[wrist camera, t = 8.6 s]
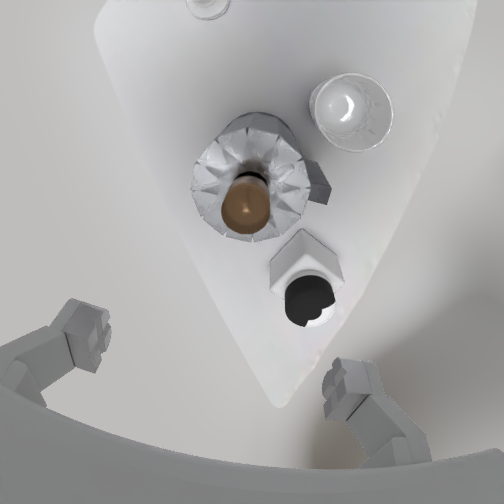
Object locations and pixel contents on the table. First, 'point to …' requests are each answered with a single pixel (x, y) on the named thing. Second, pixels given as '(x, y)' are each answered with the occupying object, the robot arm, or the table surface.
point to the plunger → (246, 204)
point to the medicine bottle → (306, 280)
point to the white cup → (352, 111)
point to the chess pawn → (207, 8)
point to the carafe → (261, 161)
